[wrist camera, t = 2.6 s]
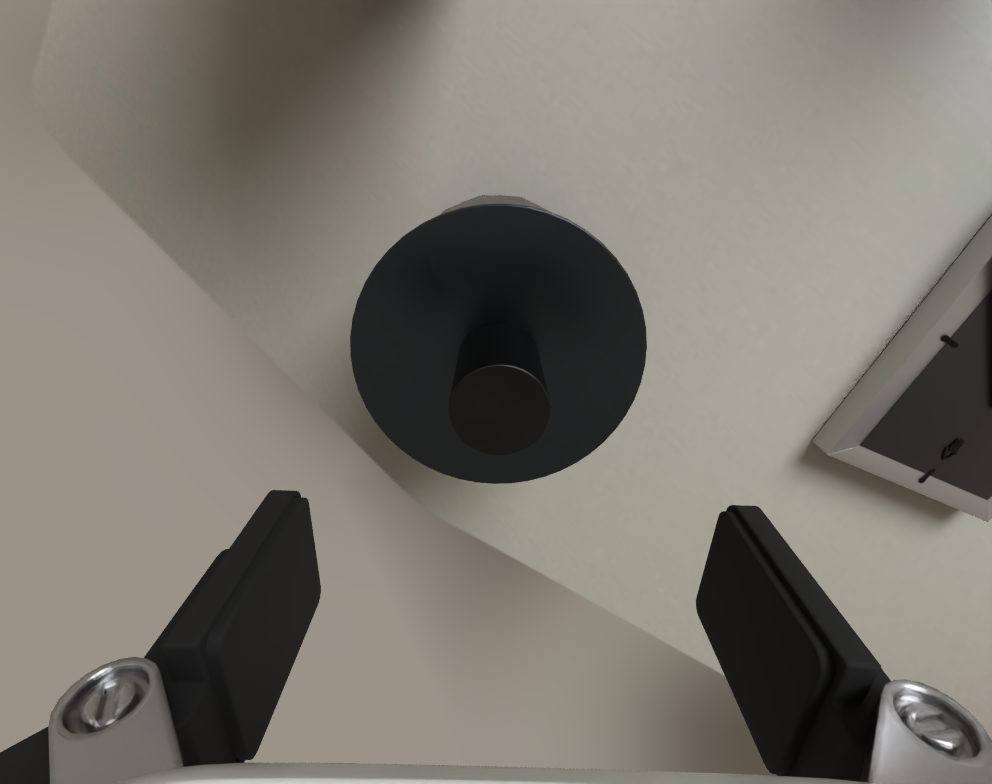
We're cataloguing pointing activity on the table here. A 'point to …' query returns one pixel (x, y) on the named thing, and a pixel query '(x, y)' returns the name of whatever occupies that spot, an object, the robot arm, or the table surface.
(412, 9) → the table surface
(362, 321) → the bin lid
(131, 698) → the robot arm
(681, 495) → the table surface
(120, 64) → the table surface
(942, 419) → the picture frame
